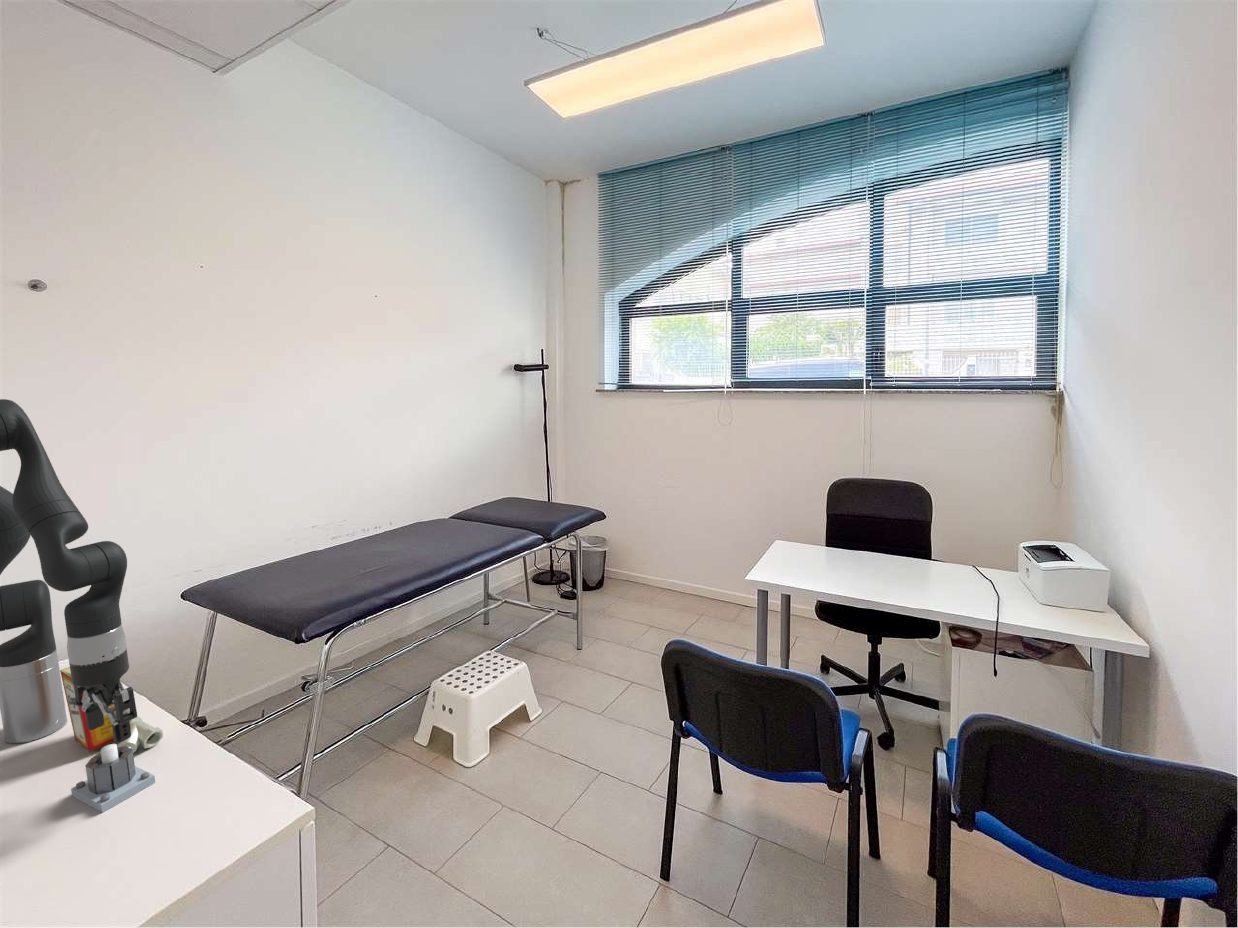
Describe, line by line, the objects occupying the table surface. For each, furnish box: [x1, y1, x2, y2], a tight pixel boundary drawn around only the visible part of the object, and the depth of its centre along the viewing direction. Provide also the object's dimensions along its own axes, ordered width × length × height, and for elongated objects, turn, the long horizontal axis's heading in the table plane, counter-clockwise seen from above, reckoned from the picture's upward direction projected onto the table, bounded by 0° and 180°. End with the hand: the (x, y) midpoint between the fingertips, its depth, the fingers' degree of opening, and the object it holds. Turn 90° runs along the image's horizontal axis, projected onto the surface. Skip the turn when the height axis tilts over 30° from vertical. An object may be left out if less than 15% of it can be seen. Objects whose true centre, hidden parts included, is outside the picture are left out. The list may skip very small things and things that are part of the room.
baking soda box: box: [60, 666, 116, 752], centre depth 114 cm, size 10×6×16 cm
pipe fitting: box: [117, 715, 164, 754], centre depth 112 cm, size 8×4×7 cm
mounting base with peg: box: [70, 743, 156, 814], centre depth 100 cm, size 10×8×8 cm
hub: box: [85, 746, 136, 795], centre depth 100 cm, size 6×6×5 cm
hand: (109, 733), depth 100 cm, fingers open, 8 cm apart
